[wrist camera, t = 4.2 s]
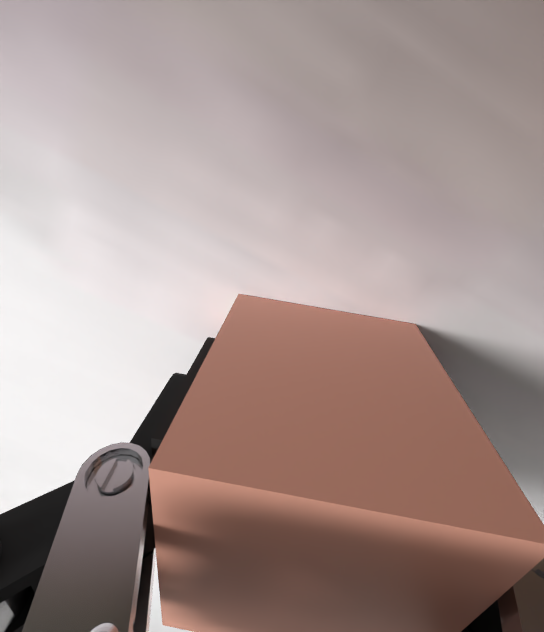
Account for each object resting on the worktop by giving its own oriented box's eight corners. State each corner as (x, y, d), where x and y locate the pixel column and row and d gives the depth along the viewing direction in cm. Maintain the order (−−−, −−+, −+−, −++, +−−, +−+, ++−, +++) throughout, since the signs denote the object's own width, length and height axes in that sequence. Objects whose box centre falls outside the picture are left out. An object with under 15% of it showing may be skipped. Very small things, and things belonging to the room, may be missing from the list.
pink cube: (365, 444, 12) (410, 676, 7) (227, 419, 12) (162, 624, 7) (415, 324, 9) (557, 546, 4) (238, 294, 9) (148, 467, 4)
